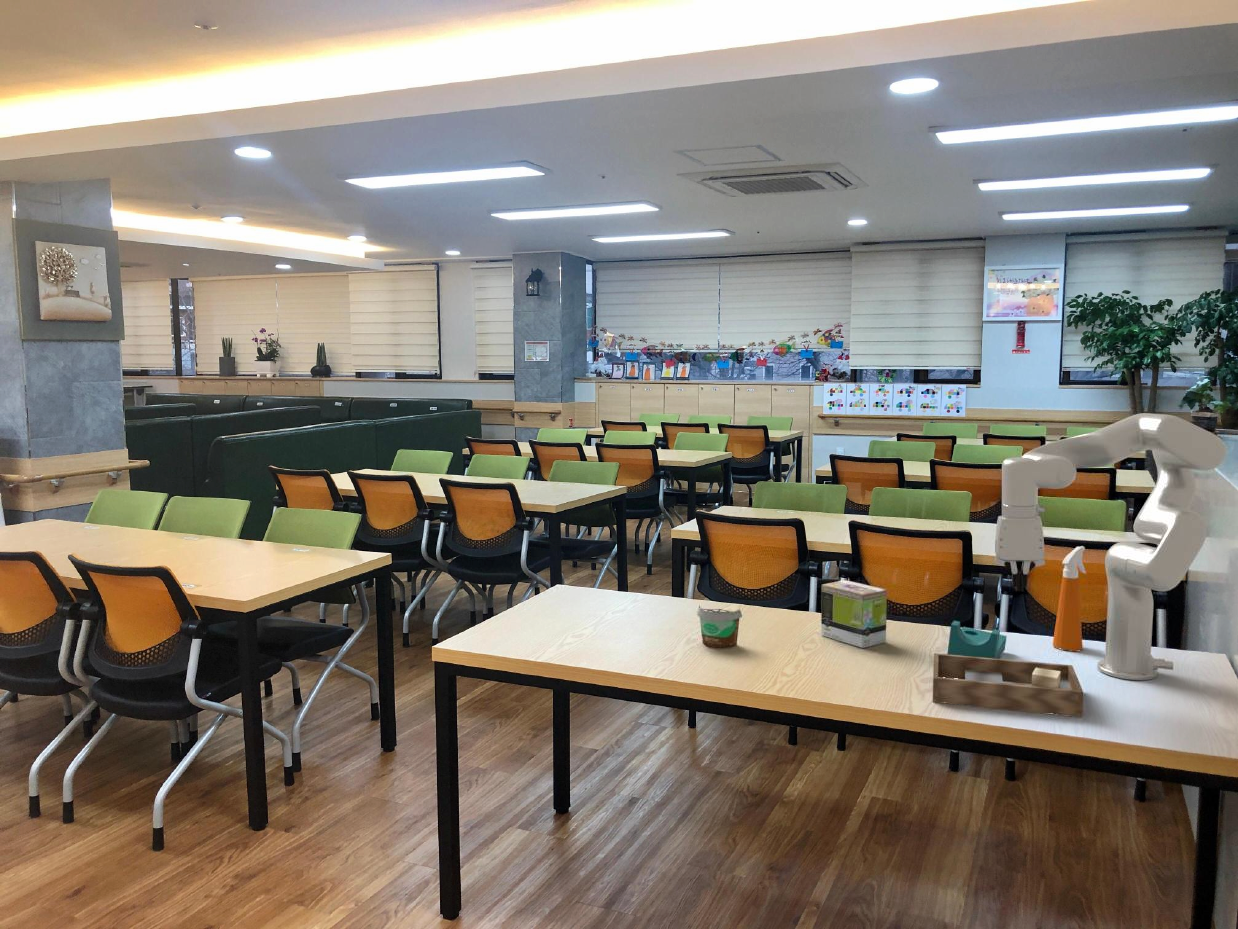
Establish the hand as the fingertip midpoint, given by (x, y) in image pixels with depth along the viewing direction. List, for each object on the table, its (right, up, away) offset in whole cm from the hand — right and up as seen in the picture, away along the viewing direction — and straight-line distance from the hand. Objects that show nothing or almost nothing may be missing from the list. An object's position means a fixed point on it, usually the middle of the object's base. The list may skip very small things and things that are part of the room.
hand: (1019, 589), depth 212 cm
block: (0, -21, -12) cm, 24 cm away
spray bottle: (+26, -19, +29) cm, 44 cm away
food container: (-67, -20, +33) cm, 77 cm away
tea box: (-29, -19, +38) cm, 51 cm away
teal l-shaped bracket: (-2, -21, +20) cm, 29 cm away
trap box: (-6, -23, -5) cm, 24 cm away
